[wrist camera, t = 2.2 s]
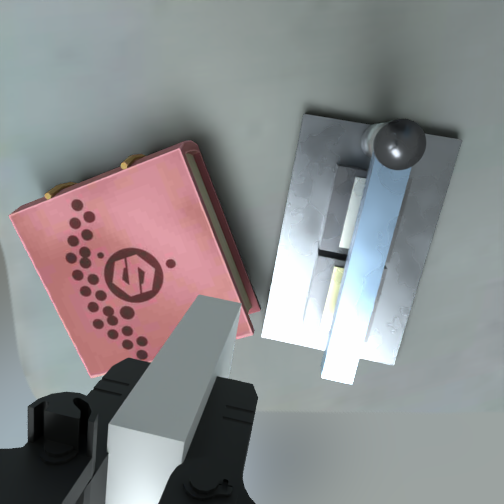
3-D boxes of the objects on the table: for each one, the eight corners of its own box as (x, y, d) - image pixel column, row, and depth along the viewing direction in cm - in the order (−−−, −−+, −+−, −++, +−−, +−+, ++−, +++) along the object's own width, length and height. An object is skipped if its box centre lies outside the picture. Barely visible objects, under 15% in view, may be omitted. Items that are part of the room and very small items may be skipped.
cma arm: (375, 116, 23) (381, 115, 21) (422, 124, 23) (432, 123, 21) (316, 364, 28) (316, 382, 26) (354, 372, 28) (357, 391, 26)
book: (195, 134, 32) (174, 134, 27) (261, 307, 36) (253, 334, 31) (44, 194, 35) (2, 204, 31) (118, 348, 39) (90, 378, 34)
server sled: (304, 111, 30) (302, 106, 24) (458, 136, 29) (495, 138, 23) (262, 331, 36) (252, 372, 30) (391, 358, 35) (407, 406, 29)
